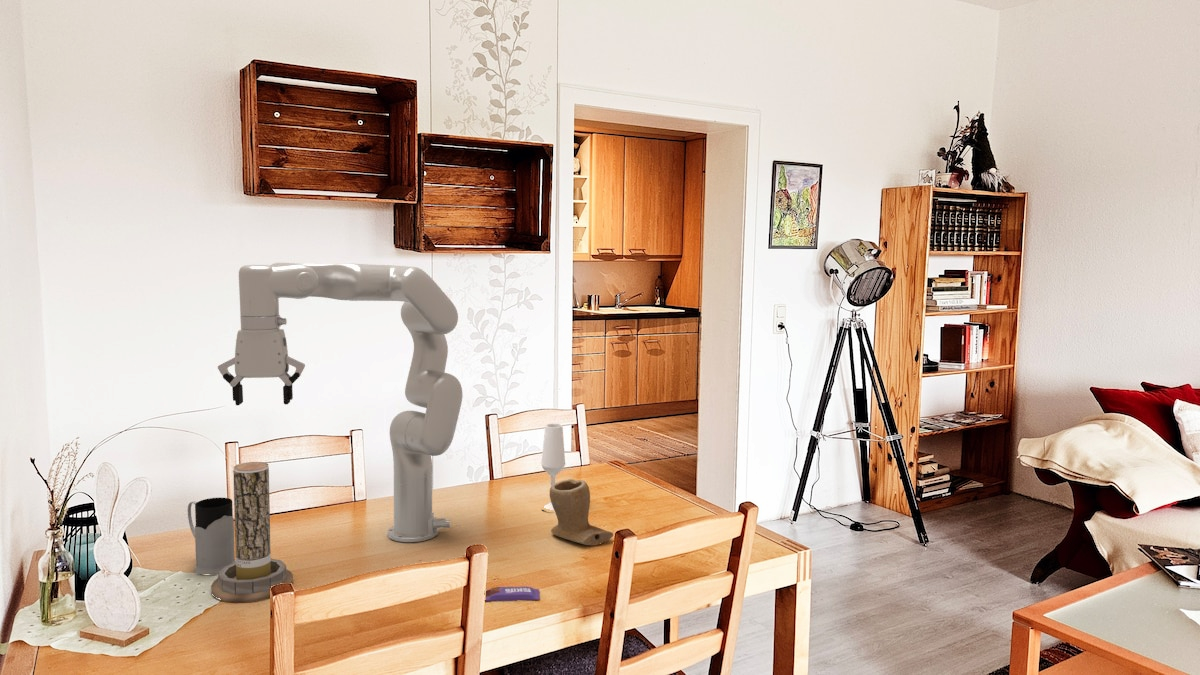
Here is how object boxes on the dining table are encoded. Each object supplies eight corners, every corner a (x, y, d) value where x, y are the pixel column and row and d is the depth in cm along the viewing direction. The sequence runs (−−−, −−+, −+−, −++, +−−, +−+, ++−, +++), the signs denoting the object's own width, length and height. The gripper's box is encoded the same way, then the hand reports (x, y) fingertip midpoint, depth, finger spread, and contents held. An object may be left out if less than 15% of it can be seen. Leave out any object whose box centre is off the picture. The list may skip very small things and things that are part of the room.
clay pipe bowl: (539, 537, 205) (540, 479, 203) (573, 526, 213) (574, 471, 211) (580, 554, 194) (581, 493, 192) (614, 542, 202) (616, 484, 201)
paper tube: (258, 588, 167) (255, 471, 164) (229, 585, 169) (226, 469, 166) (277, 576, 174) (275, 463, 171) (249, 572, 175) (246, 460, 172)
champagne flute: (568, 508, 228) (570, 425, 225) (555, 514, 222) (556, 429, 219) (549, 503, 231) (551, 421, 228) (535, 509, 225) (537, 425, 223)
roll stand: (300, 570, 180) (300, 554, 180) (283, 601, 165) (283, 583, 164) (225, 572, 178) (224, 556, 177) (200, 604, 162) (199, 586, 162)
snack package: (539, 584, 173) (539, 595, 168) (538, 593, 173) (539, 603, 168) (484, 585, 171) (483, 596, 166) (484, 594, 172) (483, 605, 167)
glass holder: (208, 578, 175) (206, 511, 173) (171, 563, 182) (169, 499, 180) (245, 565, 182) (243, 501, 180) (208, 551, 189) (206, 490, 188)
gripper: (306, 321, 174) (309, 399, 176) (221, 322, 171) (225, 400, 174) (299, 325, 167) (302, 406, 169) (210, 326, 164) (214, 408, 166)
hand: (263, 403), depth 171 cm, fingers open, 9 cm apart
